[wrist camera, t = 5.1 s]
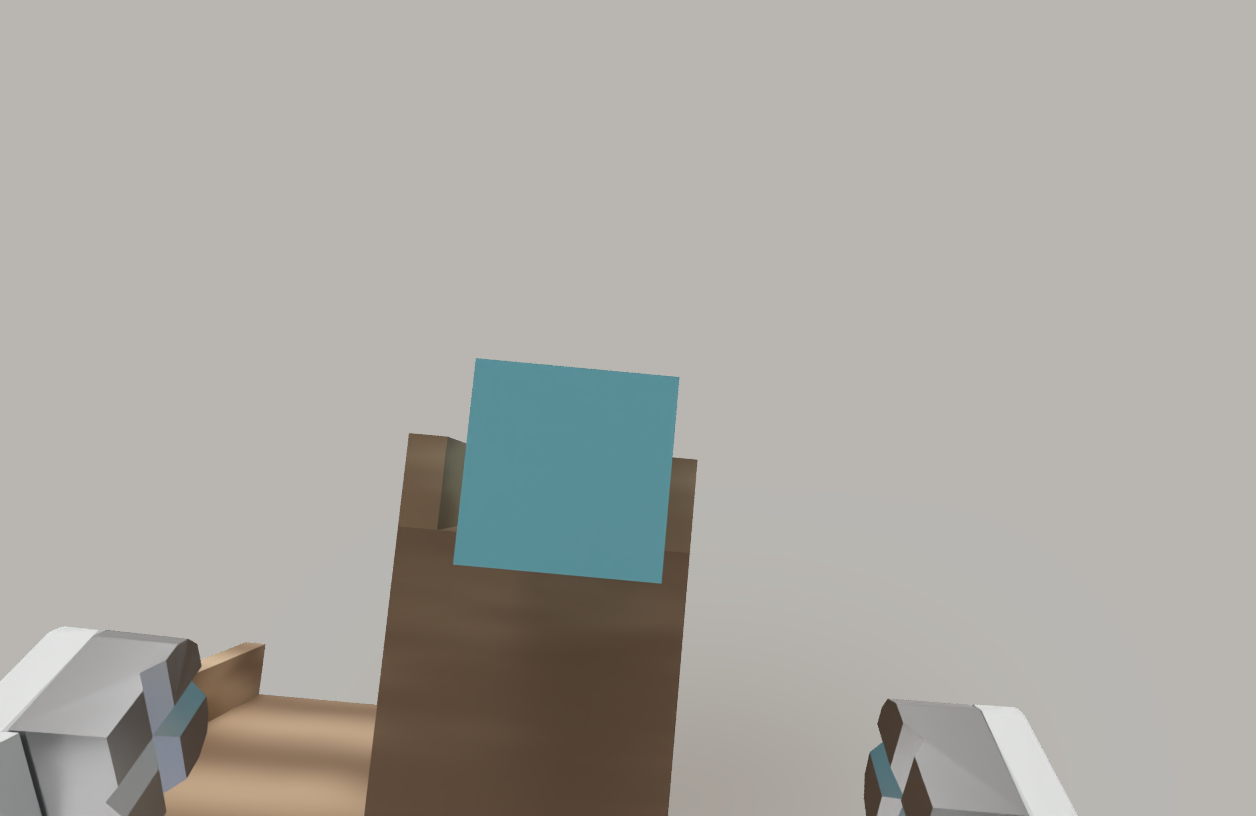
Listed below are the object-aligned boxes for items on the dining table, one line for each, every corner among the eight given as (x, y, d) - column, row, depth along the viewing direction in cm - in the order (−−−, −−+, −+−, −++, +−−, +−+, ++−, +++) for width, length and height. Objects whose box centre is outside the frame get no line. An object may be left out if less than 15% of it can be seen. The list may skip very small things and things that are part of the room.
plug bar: (551, 523, 34) (559, 442, 35) (632, 530, 34) (640, 449, 35) (453, 564, 13) (476, 358, 14) (661, 583, 13) (679, 376, 14)
